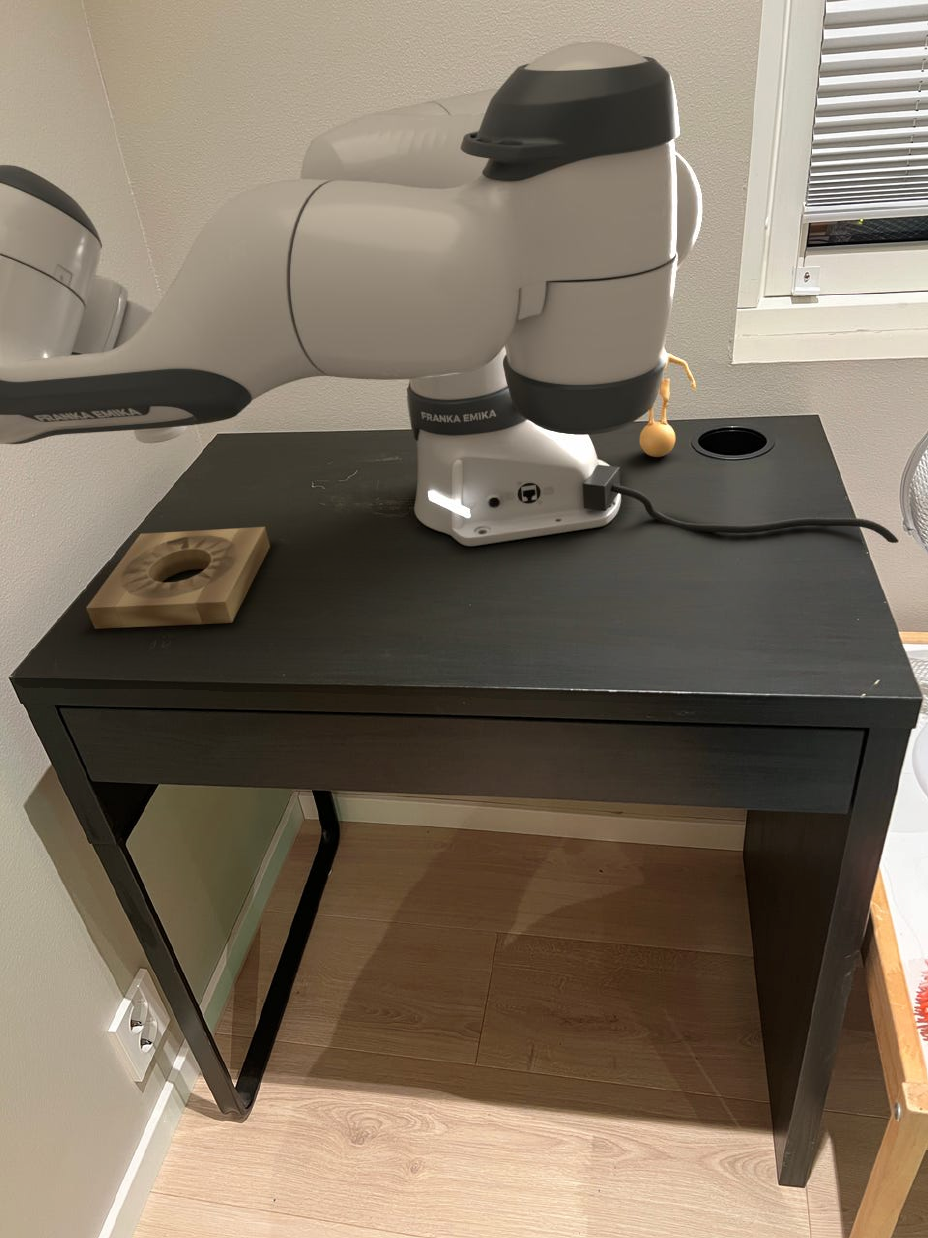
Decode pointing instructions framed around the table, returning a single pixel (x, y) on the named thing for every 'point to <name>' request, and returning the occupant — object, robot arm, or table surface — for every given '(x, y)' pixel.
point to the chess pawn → (159, 434)
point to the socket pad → (192, 601)
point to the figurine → (662, 420)
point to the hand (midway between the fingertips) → (151, 383)
